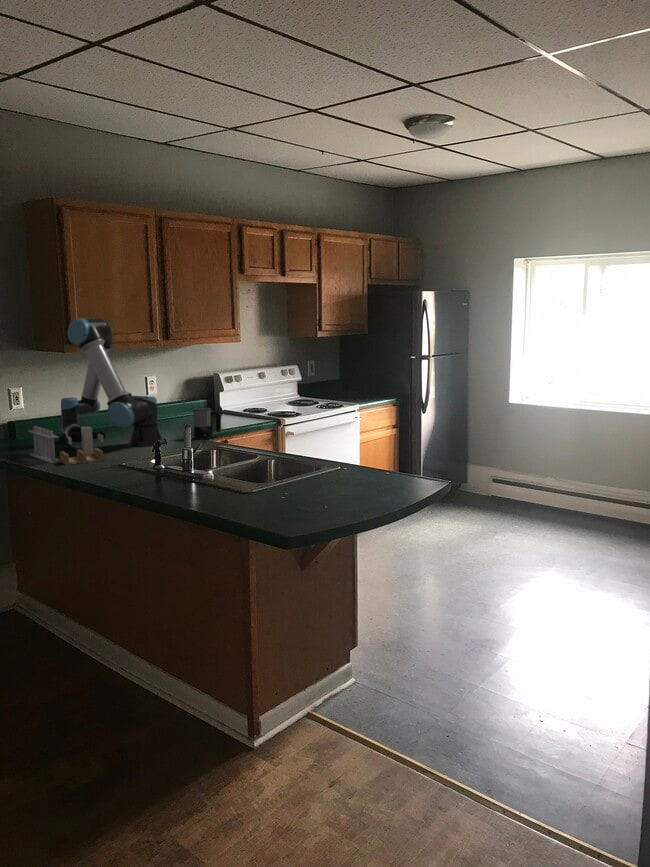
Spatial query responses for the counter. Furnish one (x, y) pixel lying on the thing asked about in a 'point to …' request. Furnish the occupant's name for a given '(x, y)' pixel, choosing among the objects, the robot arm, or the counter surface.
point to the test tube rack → (44, 445)
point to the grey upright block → (87, 440)
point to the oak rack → (81, 457)
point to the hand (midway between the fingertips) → (86, 439)
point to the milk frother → (205, 422)
